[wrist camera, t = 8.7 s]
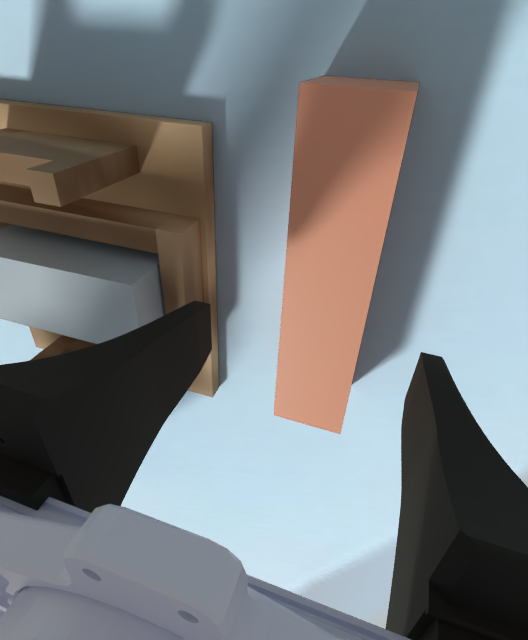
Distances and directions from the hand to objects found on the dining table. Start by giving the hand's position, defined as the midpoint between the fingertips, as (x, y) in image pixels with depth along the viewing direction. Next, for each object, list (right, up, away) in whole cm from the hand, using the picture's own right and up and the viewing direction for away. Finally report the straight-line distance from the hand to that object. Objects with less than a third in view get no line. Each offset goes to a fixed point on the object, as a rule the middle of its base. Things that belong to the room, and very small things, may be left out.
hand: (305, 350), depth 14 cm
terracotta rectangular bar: (+2, +4, +6) cm, 7 cm away
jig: (-11, +5, +10) cm, 15 cm away
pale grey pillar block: (-11, +4, +9) cm, 15 cm away
